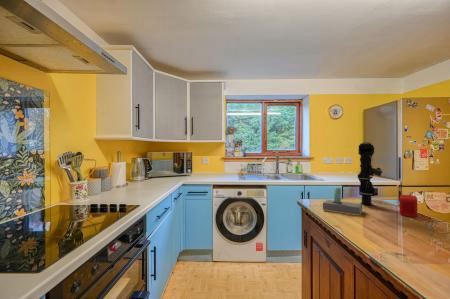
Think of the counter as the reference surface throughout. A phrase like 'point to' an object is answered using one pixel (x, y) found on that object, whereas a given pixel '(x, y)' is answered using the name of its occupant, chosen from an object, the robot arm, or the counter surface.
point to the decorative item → (408, 205)
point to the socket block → (343, 207)
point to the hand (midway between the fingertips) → (366, 188)
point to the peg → (337, 195)
